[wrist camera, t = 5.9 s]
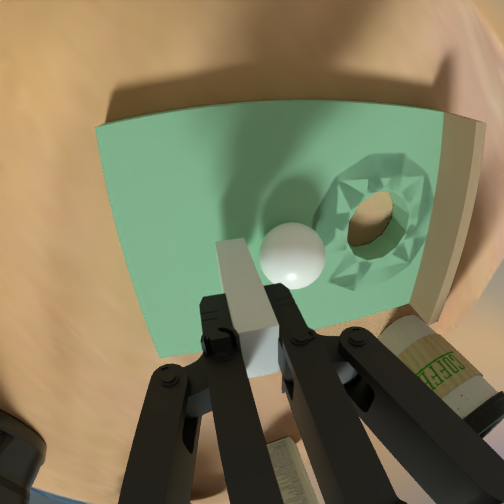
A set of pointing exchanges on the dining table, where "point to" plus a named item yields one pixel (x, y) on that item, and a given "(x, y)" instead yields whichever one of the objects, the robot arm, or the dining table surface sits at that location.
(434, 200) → the putting platform
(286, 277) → the ball
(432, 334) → the coffee cup
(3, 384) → the dining table surface
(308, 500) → the skincare box
